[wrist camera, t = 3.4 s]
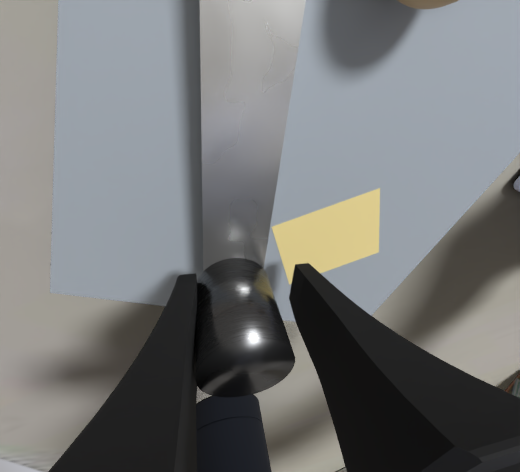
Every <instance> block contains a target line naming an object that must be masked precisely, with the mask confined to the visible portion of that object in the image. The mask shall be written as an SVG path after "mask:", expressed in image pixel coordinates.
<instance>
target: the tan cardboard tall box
mask: <svg viewBox="0 0 520 472" xmlns="http://www.w3.org/2000/svg"><path fill="white" fill-rule="evenodd" d="M505 391H506V392H508V393H510V394H512V395H514V396H516V397H519V398H520V374H519V375H518V376H517V377H516V378H515V380H514V381H513V382H512V383H511V384H510V386H509V387H508V388H507V389H506V390H505Z"/></svg>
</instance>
